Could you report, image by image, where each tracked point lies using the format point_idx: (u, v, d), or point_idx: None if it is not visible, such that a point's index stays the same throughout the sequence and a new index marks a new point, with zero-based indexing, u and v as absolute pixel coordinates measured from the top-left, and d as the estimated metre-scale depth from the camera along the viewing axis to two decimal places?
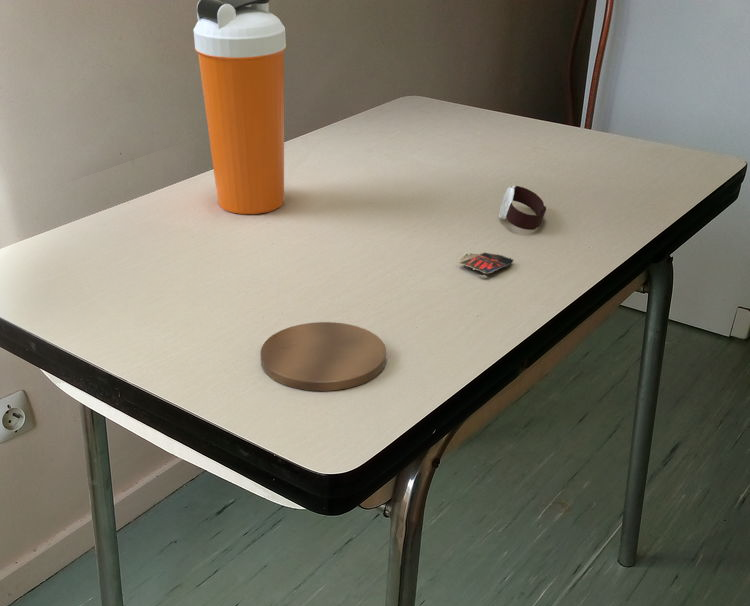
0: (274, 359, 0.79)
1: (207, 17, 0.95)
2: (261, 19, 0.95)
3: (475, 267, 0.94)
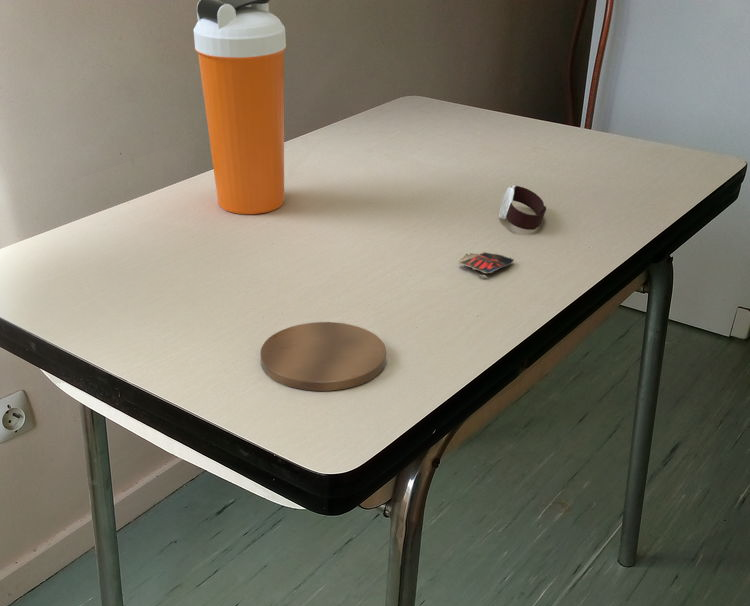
0: (274, 359, 0.79)
1: (207, 17, 0.95)
2: (261, 19, 0.95)
3: (475, 267, 0.94)
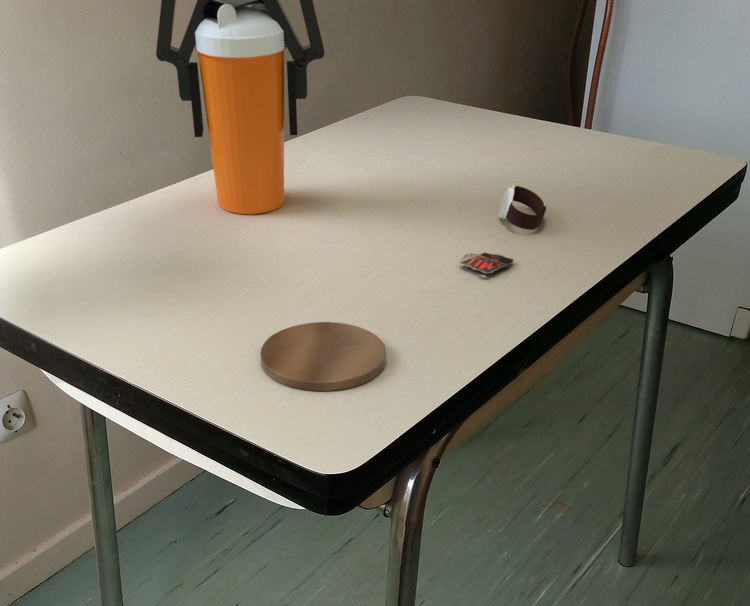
0: (274, 359, 0.79)
1: (207, 17, 0.95)
2: (261, 19, 0.95)
3: (475, 267, 0.94)
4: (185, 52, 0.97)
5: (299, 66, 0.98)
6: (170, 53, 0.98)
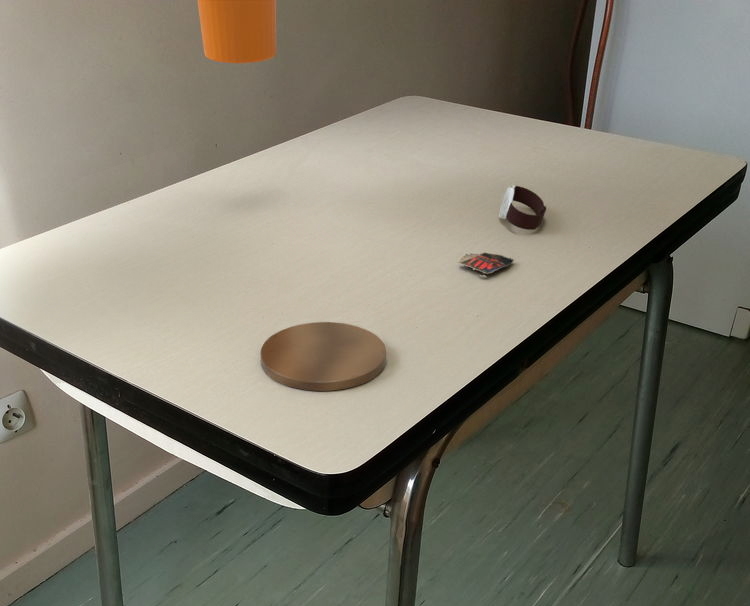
0: (274, 359, 0.79)
1: None
2: None
3: (475, 267, 0.94)
4: None
5: None
6: None
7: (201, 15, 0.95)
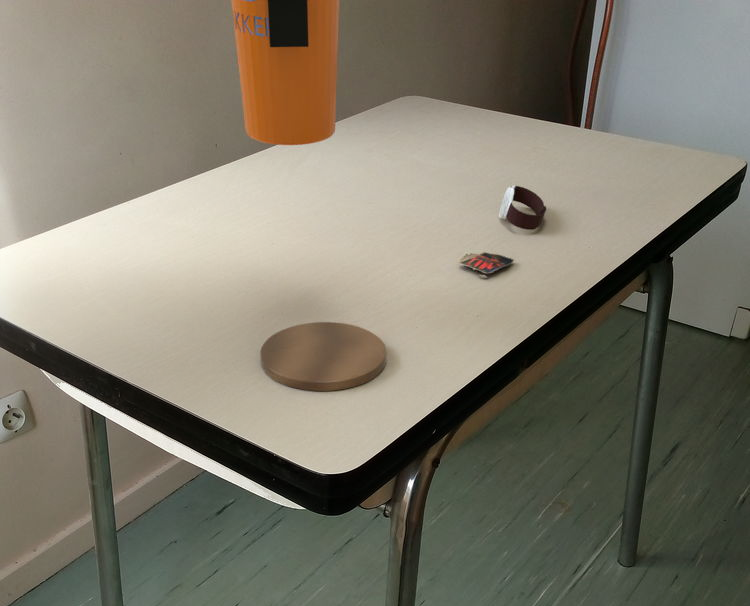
0: (274, 359, 0.79)
1: None
2: None
3: (475, 267, 0.94)
4: None
5: None
6: None
7: (285, 93, 0.74)
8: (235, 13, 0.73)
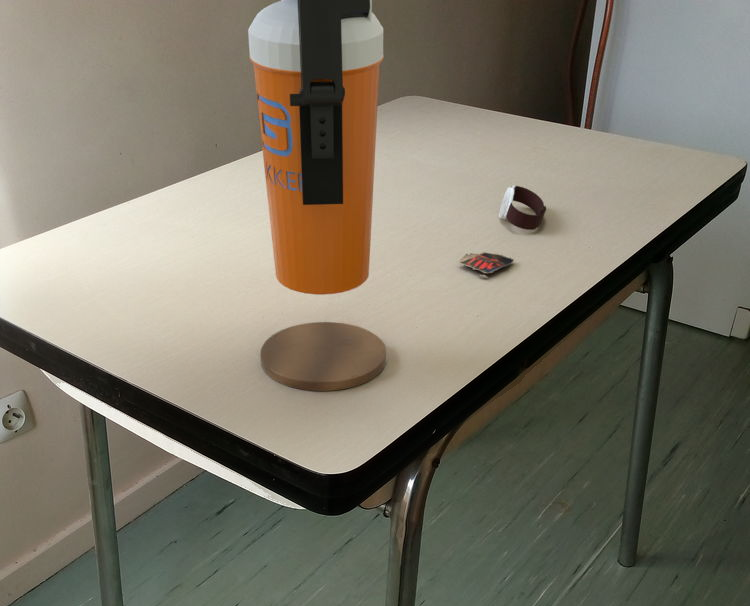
0: (274, 359, 0.79)
1: (346, 14, 0.63)
2: None
3: (475, 267, 0.94)
4: None
5: None
6: None
7: (318, 246, 0.71)
8: (266, 164, 0.70)
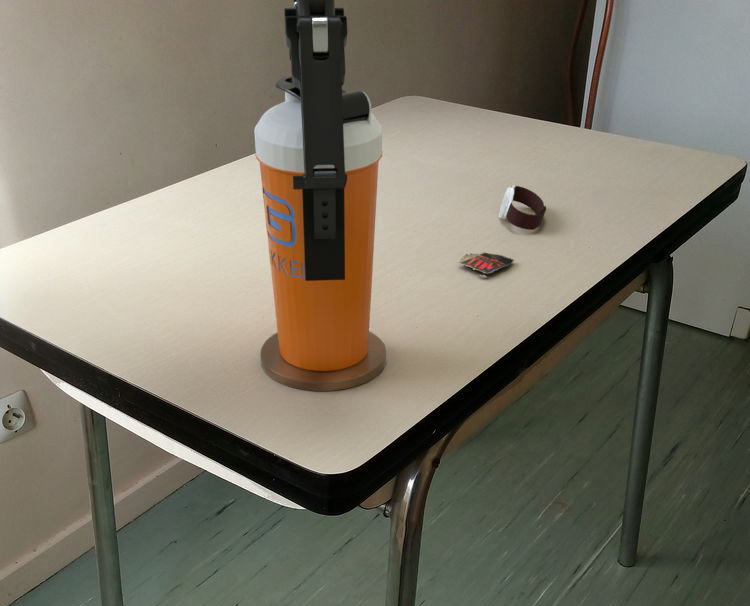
0: (274, 359, 0.79)
1: (347, 119, 0.67)
2: None
3: (475, 267, 0.94)
4: None
5: None
6: None
7: (320, 327, 0.75)
8: (271, 252, 0.73)
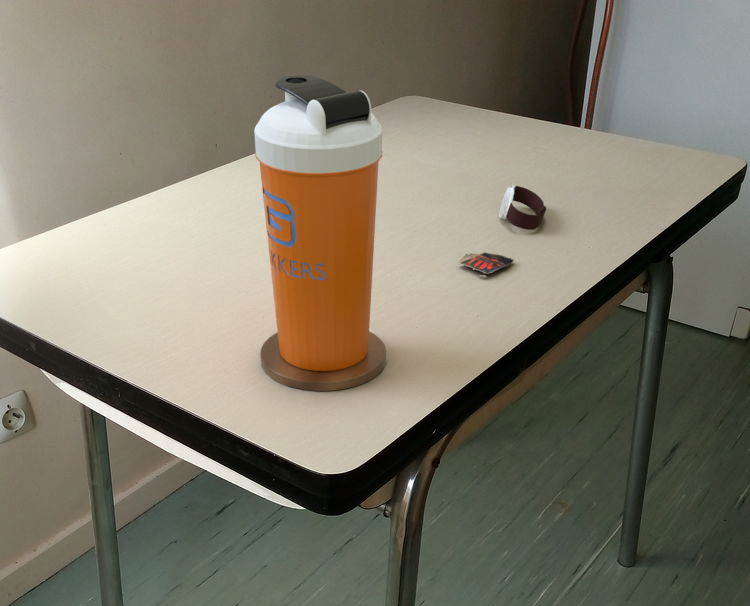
0: (274, 359, 0.79)
1: (347, 119, 0.67)
2: None
3: (475, 267, 0.94)
4: None
5: None
6: None
7: (320, 327, 0.75)
8: (271, 252, 0.73)
